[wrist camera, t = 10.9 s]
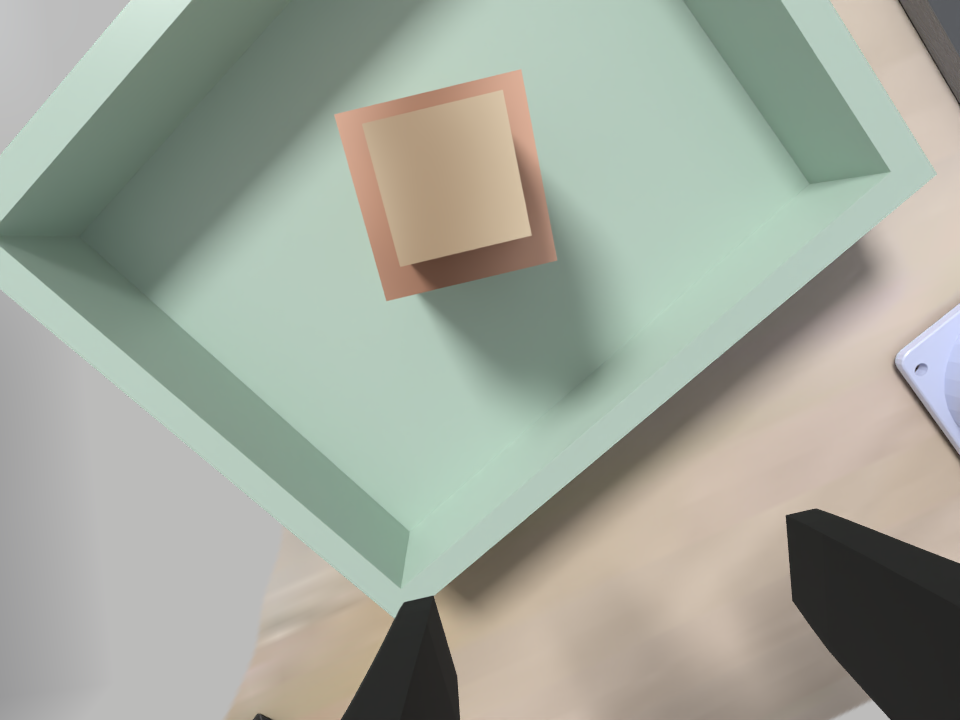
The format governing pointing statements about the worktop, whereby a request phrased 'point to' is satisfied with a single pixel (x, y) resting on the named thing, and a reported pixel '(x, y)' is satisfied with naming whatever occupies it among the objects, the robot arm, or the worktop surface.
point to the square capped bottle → (449, 184)
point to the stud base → (939, 34)
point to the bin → (450, 310)
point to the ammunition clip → (260, 717)
